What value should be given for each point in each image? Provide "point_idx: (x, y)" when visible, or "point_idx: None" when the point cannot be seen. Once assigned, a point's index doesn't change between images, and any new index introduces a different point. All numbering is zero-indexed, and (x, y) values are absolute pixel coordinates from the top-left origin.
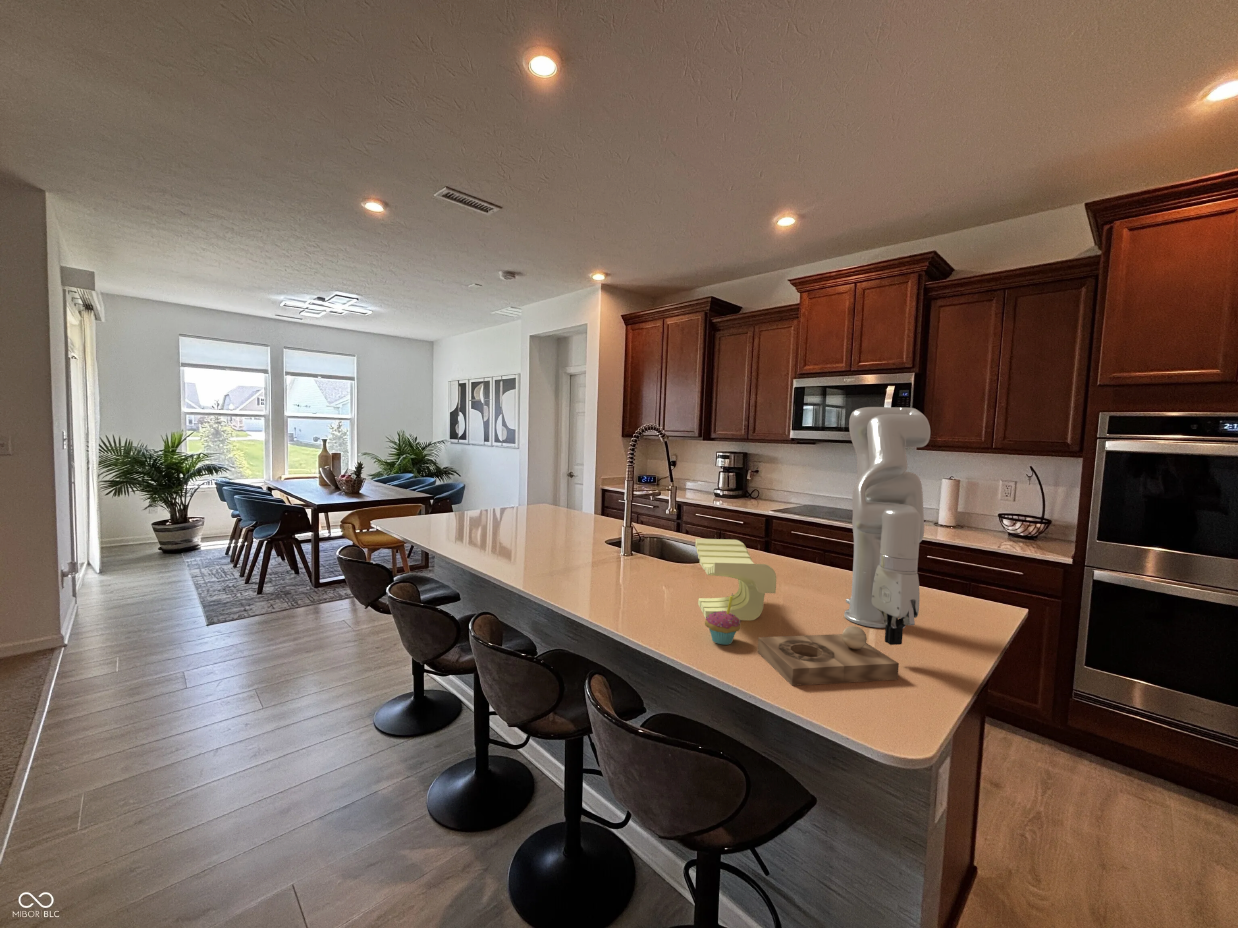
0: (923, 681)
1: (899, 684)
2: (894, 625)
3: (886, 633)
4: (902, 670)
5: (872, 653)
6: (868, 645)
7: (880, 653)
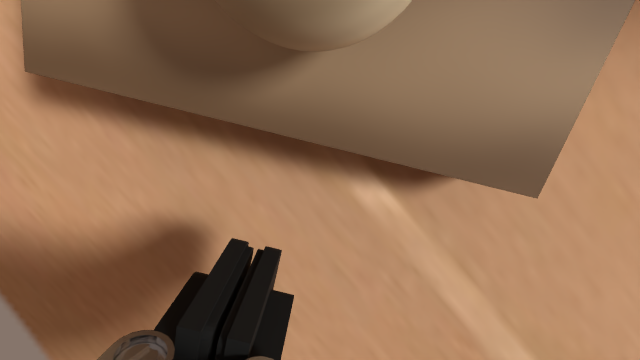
0: (69, 174)
1: None
2: (110, 356)
3: (252, 285)
4: (184, 184)
5: (199, 27)
6: (323, 128)
7: (185, 89)
